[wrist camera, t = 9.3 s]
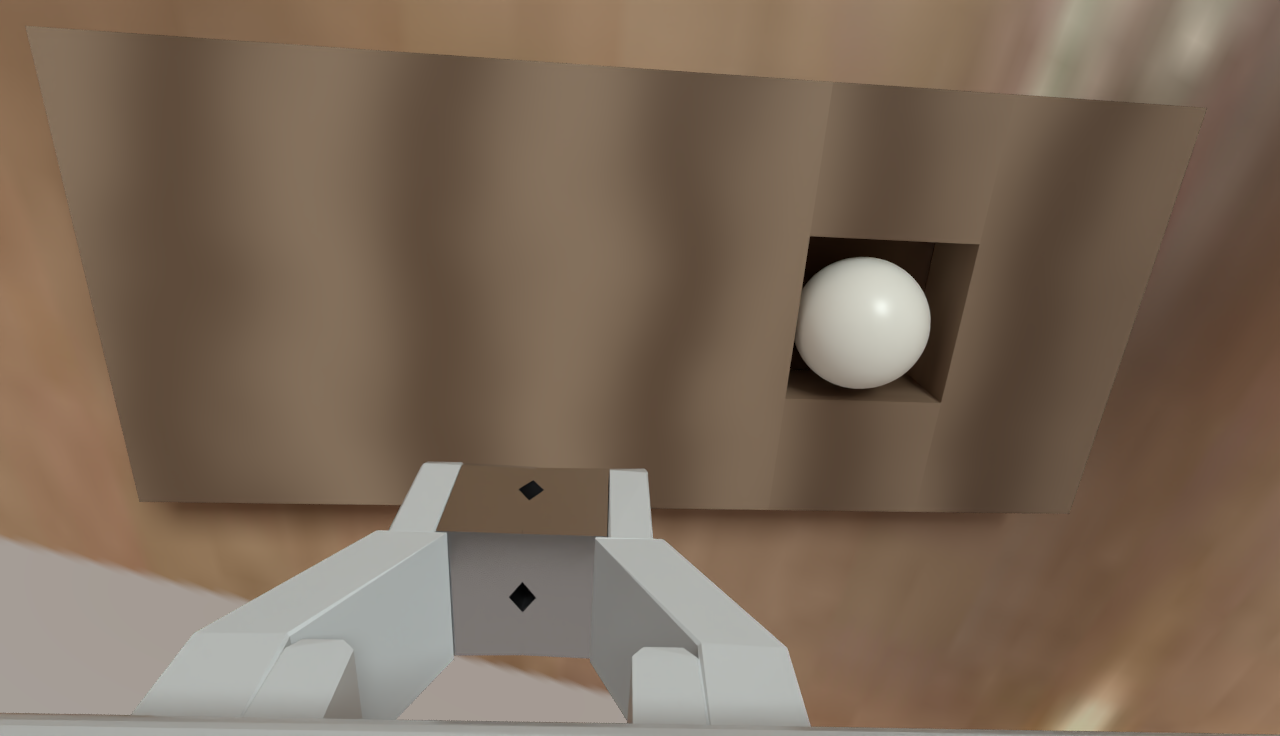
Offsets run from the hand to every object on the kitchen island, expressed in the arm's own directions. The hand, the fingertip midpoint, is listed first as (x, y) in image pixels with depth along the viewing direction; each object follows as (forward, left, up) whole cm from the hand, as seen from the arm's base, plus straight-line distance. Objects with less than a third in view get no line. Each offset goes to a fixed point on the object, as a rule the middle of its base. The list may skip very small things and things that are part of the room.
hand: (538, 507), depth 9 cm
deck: (-2, 0, -13) cm, 13 cm away
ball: (-9, +1, -11) cm, 14 cm away
